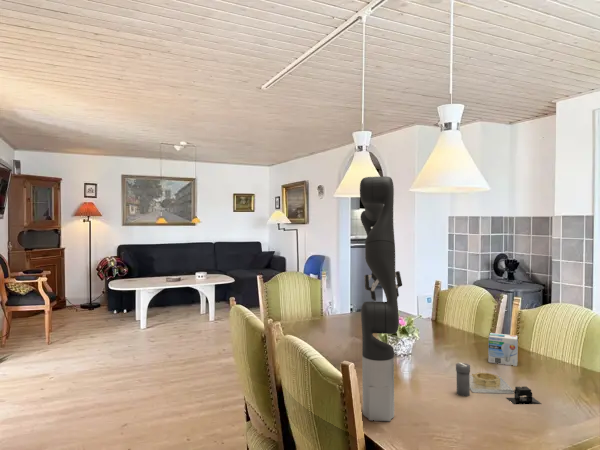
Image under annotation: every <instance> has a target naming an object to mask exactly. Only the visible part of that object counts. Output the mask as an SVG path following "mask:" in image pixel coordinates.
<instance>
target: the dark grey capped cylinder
mask: <svg viewBox="0 0 600 450" xmlns="http://www.w3.org/2000/svg"><path fill="white" fill-rule="evenodd" d="M455 371H456V394H457V396H461V397H469V396H470V394H471V393H470V392H471V389H470V378H469V375H470V373H471V365H470V364H469V363H464V362H457V363H455Z"/></svg>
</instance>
